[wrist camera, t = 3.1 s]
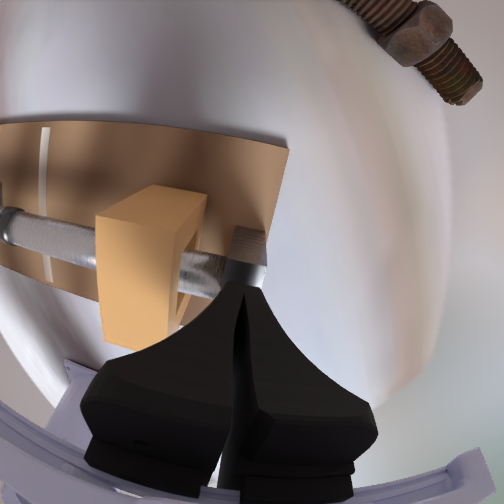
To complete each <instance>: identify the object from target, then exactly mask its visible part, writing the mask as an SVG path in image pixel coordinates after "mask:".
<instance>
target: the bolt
mask: <svg viewBox="0 0 504 504" xmlns="http://www.w3.org/2000/svg"><path fill="white" fill-rule="evenodd" d="M337 1H340V0H337ZM342 4H347V8H352V11H353V12H356V11H357V15H358V16H361V15H363V19H368V24H370V23H373V28H378V32H382V34H381V36H380V37H379V39H378V44H379V45H380V46H381V47H382V48H383V49H384V50H385V51H386V52H387V53H388V54H389V55H391V56H392V57H393V58H394V59H395V60H396V61H397V62H398V63H399V64H400V65H402V66H403V67H409V66H413V65H414V66H415V67H417V68H418V71H421V74H422V75H424V76H425V78H426V79H427V80H429V83H430V84H432V85H433V88H435V89H436V90H437V92H438V93H439V94H440V96H441V97H442V98H443V100H444V101H445V102H447V103H449V104H451V105H454V104H456V105H457V106H458V105H459V106H460V105H465V104H466V103H467V102H469V101H470V100H471V99H472V98H473V97H474V96H475V95H476V94H477V93H478V92H479V91H480V90H481V88H482V83H483V79H482V77H481V76H480V74H479V72H478V71H476V68H475V67H473V64H472V63H471V62H470V61H469V59H468V58H467V57H466V56H465V54H464V53H463V52H462V50H461V49H460V48H458V45H457V44H456V43H454V40H453V39H452V38H450V36H451V34H452V31H453V25H452V19H451V18H450V17H449V16H448V15H447V14H446V13H445V12H444V11H443V10H442V9H441V8H440V7H439V6H438V5H437V4H436V3H433V2H431V1H428V0H423V1H420V2H418V3H417V2H413V1H412V0H342Z"/></svg>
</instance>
